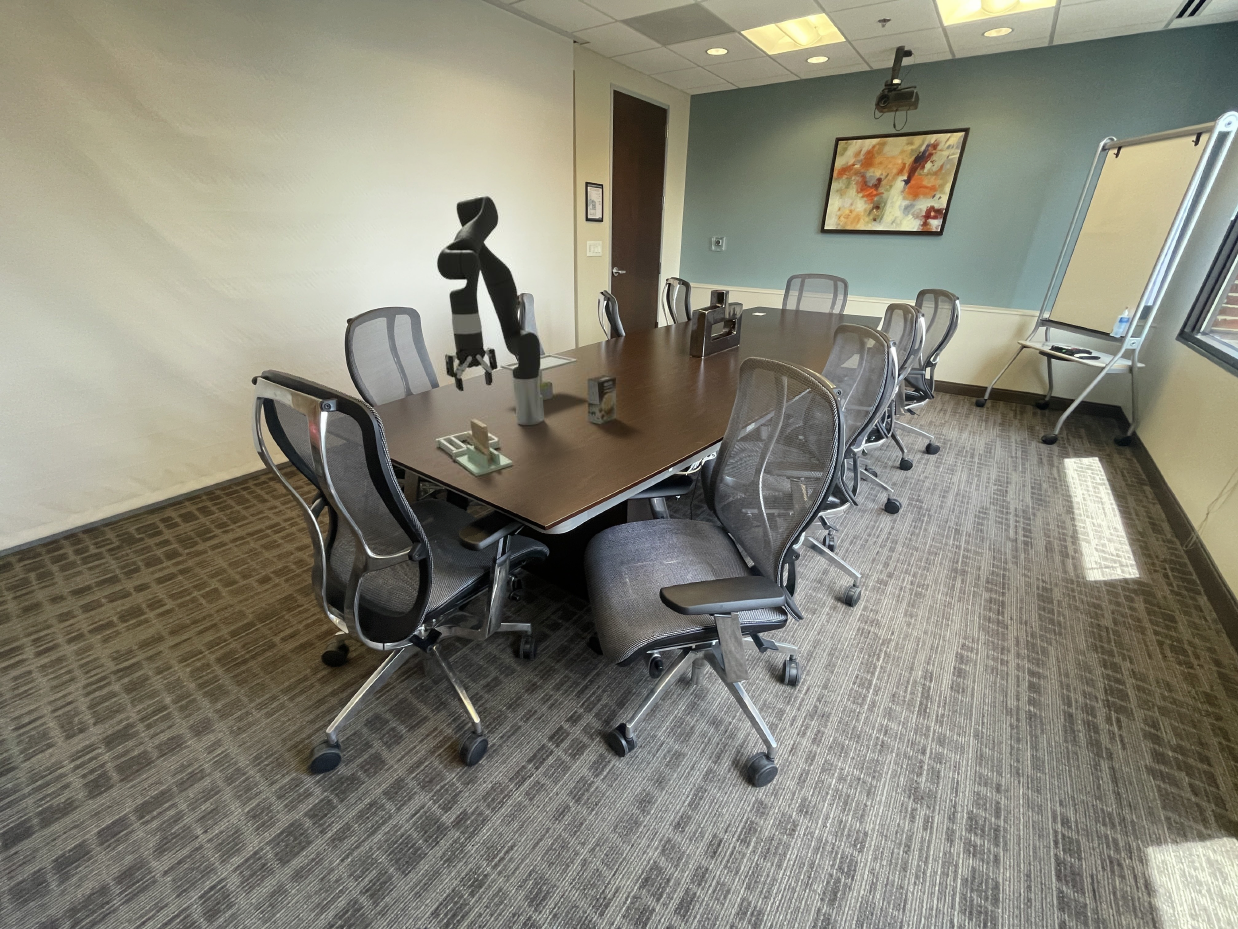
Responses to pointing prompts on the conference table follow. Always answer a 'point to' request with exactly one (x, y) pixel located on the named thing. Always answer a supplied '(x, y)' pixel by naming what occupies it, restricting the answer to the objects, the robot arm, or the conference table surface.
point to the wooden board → (481, 438)
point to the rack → (460, 444)
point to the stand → (482, 461)
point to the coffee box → (601, 399)
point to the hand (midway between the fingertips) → (474, 387)
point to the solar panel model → (545, 364)
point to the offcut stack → (470, 437)
